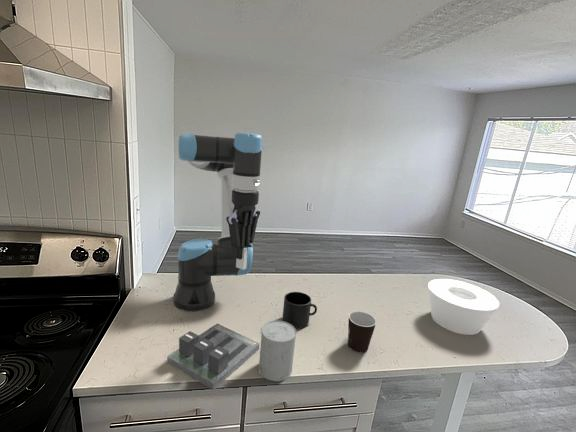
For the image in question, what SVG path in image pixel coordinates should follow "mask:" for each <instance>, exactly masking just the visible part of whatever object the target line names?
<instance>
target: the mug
mask: <svg viewBox="0 0 576 432" xmlns="http://www.w3.org/2000/svg"><path fill="white" fill-rule="evenodd" d="M283 300H284V301H283V309H282V310H283V311H282V318H281V319H282V320H281V321H284V322H287V323H289V324H291V325H293V326H294V327H295V329H304V328H306V327H307V326H308V324H309V322H310V317H312V316H314V315H315V314H316V313H317V312H318V307H317V305H316V304H315V303H312V298H311V296H310V295H309V294H307V293H305V292H300V291H291V292H288V293H286V294H285V295H284V299H283ZM311 307H312V308H314V310H313V312H311Z"/></svg>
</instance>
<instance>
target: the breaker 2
mask: <svg viewBox="0 0 576 432" xmlns="http://www.w3.org/2000/svg"><path fill="white" fill-rule="evenodd" d="M213 350H214V343H213V342H211V341H209V340H207V339H205V338H204V339H202V340H201V341H200V342H198V343H197V344H195V345H194V359H193V360H195V361H197V362H199V363H200V364H202V365H203V364H205V363H206V362H207V361H208V355H209V353H210V352H212V351H213Z"/></svg>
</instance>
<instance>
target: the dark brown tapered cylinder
mask: <svg viewBox="0 0 576 432" xmlns="http://www.w3.org/2000/svg"><path fill="white" fill-rule="evenodd" d="M376 325H377V319H376V318H375V317H374V316H373V315H372V314H370V313H368V312H365V311H360V310H358V311H357V310H356V311H351V312H350V313H349V314H348V327H347V329H348V331H347V345H348V346H347V347H348V349H350V350H352V351H353V352H355V353H359V354H361V353H366V352H367V351H368V350H369V346H370V344H371V341H372V338H373V335H374V331H375V327H376Z"/></svg>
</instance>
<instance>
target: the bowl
mask: <svg viewBox="0 0 576 432" xmlns="http://www.w3.org/2000/svg"><path fill="white" fill-rule="evenodd" d="M427 286H428V296H429V305H430V307H429V308H430V315H431V318H432V320H433V322H435V323H436V324H438V325H439V326H440V327H441V328H444V329H445V330H448V331H450V332H452V333H455V334H460V335H466V336H471V335H474V336H475V335H478V334H479V333H480V332H481V330H482V329H483V328H484V327H485V325H486V324H487V323H488V322H489V320H490V319H491V317H492V316H493V315H494V314H495V312H496V311H497V309H498V308H499V306H500V301H499V300H498V299H497V298H496V296H495V295H494V294H492V293H490V292H489V291H487V290H485V289H484V288H481V287H480V286H477V285H475V284H471V283H468V282H466V281H462V280H457V279H451V278H436V279H432V280H430V281H428V284H427Z"/></svg>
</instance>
